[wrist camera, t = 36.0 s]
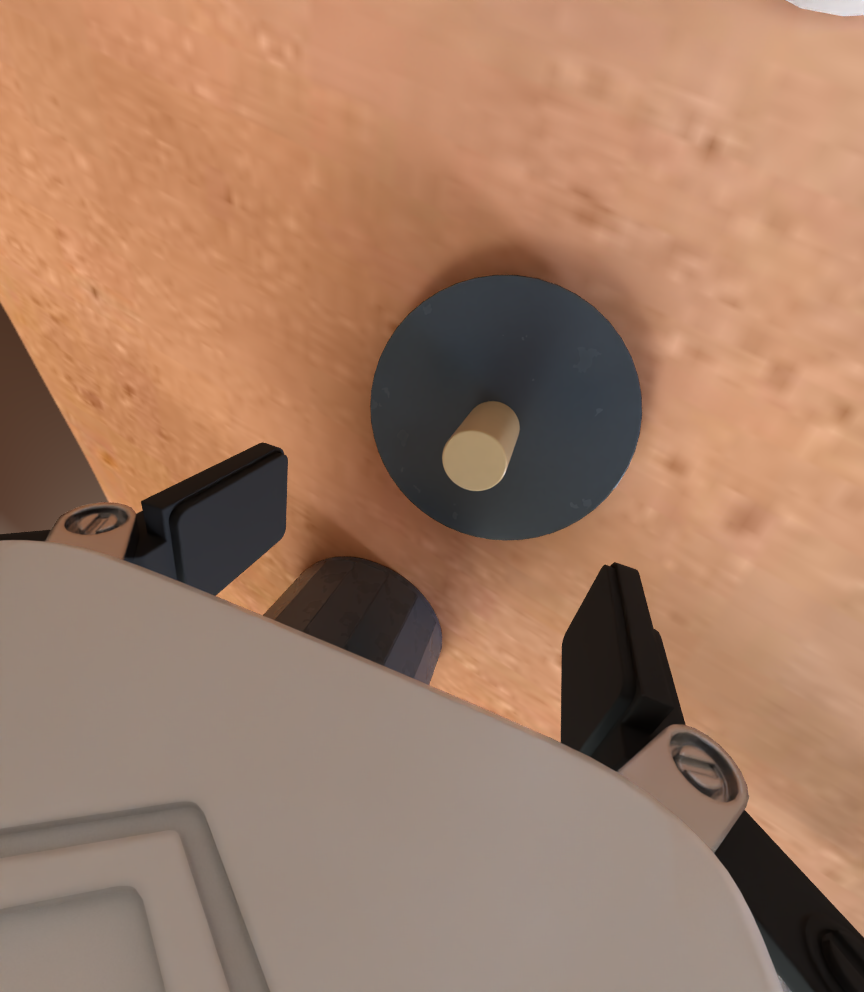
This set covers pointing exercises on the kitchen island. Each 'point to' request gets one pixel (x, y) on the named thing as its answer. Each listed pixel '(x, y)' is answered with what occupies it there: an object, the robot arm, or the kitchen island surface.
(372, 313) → the kitchen island surface
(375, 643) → the tin
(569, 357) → the lid
